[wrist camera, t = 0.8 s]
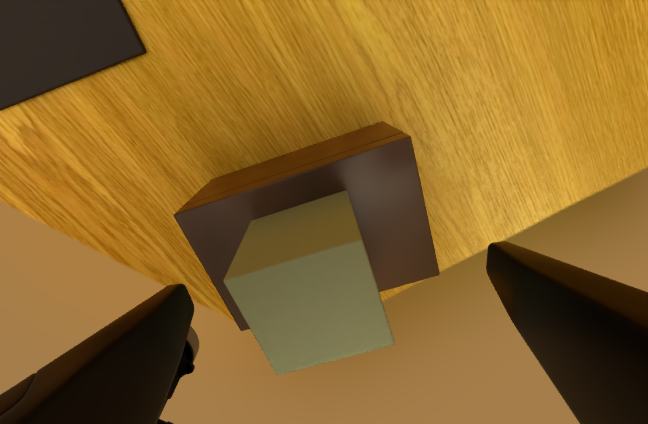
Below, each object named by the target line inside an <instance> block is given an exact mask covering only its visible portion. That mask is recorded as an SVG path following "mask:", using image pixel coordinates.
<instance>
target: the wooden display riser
mask: <svg viewBox="0 0 648 424" xmlns="http://www.w3.org/2000/svg"><path fill="white" fill-rule="evenodd" d="M345 190H346V191H347V192H348V196H349V199H350V202H351V205H352V208H353V211H354V214H355V218H356V221H357V224H358V227H359V230H360V233H361V237H362V240H363V243H364V246H365V249H366V252H367V255H368V259H369V262H370V265H371V268H372V271H373V274H374V278H375V281H376V284H377V287H378V290H379V292H381V291H384V290H388V289H391V288H395V287H399V286H402V285H406V284H409V283H413V282H416V281H420V280H423V279H427V278H430V277H434V276H437V275H439V268H438V264H437V259H436V254H435V249H434V245H433V240H432V235H431V230H430V226H429V221H428V216H427V211H426V207H425V202H424V197H423V192H422V187H421V183H420V178H419V173H418V168H417V164H416V159H415V154H414V149H413V145H412V140H411V137H410V136H409V135H407V134H405V133H403V132H402V131H400V130H398V129H396V128H394V127H392V126H390V125H389V124H387V123H385V122H383V121H382V122H379V123H376V124H373V125H370V126H367V127H365V128H362V129H359V130H356V131H353V132H350V133H347V134H344V135H341V136H338V137H335V138H332V139H329V140H326V141H323V142H320V143H318V144H315V145H312V146H309V147H306V148H303V149H300V150H297V151H294V152H291V153H288V154H285V155H282V156H279V157H276V158H274V159H271V160H268V161H265V162H262V163H259V164H256V165H253V166H250V167H247V168H244V169H241V170H238V171H235V172H232V173H230V174H227V175H224V176H221V177H218V178H215V179H212V180H211V181H210V182H209V183H207V184H206V185H205V186H204V187H203V188H202V189H201V190H200V191H199V192H198V193H197V194H196V195H194V196H193V197H192V198H191V199H190V200H189V201H188V202H187V203H186V204H185V205H184V206H183V207H182V208H181V209H180V210H178V211H177V212H176V213H175V214H174V217H175V219H176V221H177V223H178V224H179V226H180V228H181V229H182V231H183V233H184V235H185V236H186V238H187V240H188V241H189V243H190V245H191V246H192V248H193V250H194V252H195V253H196V255H197V257H198V258H199V260H200V262H201V264H202V265H203V267H204V269H205V270H206V272H207V274H208V275H209V277H210V279H211V281H212V282H213V284H214V286H215V287H216V289H217V291H218V293H219V294H220V296H221V298H222V299H223V301H224V303H225V304H226V306H227V308H228V310H229V311H230V313H231V315H232V316H233V318H234V320H235V321H236V323H237V325H238V326H239V328H240V330H241V331H243V330H247V329H250V327H249V325H248V324H247V322H246V320H245V318H244V317H243V315H242V313H241V311H240V310H239V308H238V306H237V304H236V303H235V301H234V299H233V297H232V296H231V294H230V292H229V290H228V288H227V287H226V285H225V283H224V278H225V276H226V274H227V272H228V270H229V267H230V265H231V263H232V261H233V259H234V257H235V255H236V252H237V250H238V248H239V246H240V244H241V242H242V239H243V237H244V235H245V233H246V231H247V229H248V227H249V224H250V222H251V221H252V220H255V219H258V218H261V217H264V216H267V215H270V214H273V213H277V212H280V211H283V210H286V209H289V208H292V207H295V206H298V205H301V204H305V203H308V202H311V201H314V200H317V199H320V198H323V197H326V196H329V195H333V194H336V193H339V192H342V191H345Z"/></svg>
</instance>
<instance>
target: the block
mask: <svg viewBox="0 0 648 424" xmlns="http://www.w3.org/2000/svg"><path fill="white" fill-rule="evenodd" d="M224 283H225V285H226V287H227V288H228V290H229V292H230V294H231V296H232V297H233V299H234V301H235V303H236V304H237V306H238V308H239V310H240V311H241V313H242V315H243V317H244V318H245V320H246V322H247V324H248V325H249V327H250V329H251V331H252V332H253V334H254V336H255V338H256V340H257V341H258V343H259V345H260V347H261V348H262V350H263V352H264V354H265V355H266V357H267V359H268V361H269V362H270V364H271V366H272V368H273V370H274V371H275V373H276V375H281V374H285V373H289V372H293V371H296V370H300V369H304V368H308V367H312V366H315V365H319V364H323V363H326V362H330V361H334V360H338V359H342V358H346V357H349V356H353V355H357V354H361V353H365V352H368V351H372V350H376V349H380V348H383V347H387V346H390V345H394V344H395V341H394V338H393V335H392V332H391V329H390V326H389V322H388V319H387V316H386V313H385V309H384V307H383V303H382V300H381V297H380V294H379V290H378V287H377V284H376V281H375V278H374V274H373V271H372V268H371V265H370V262H369V259H368V255H367V252H366V249H365V246H364V243H363V240H362V237H361V233H360V230H359V227H358V224H357V221H356V218H355V214H354V211H353V208H352V205H351V202H350V199H349V196H348V192H347V191H346V190H345V191H342V192H339V193H336V194H333V195H329V196H326V197H323V198H320V199H317V200H314V201H311V202H308V203H305V204H301V205H298V206H295V207H292V208H289V209H286V210H283V211H280V212H277V213H273V214H270V215H267V216H264V217H261V218H258V219H255V220H252V221H251V222H250V224H249V227H248V229H247V231H246V233H245V235H244V237H243V239H242V242H241V244H240V246H239V248H238V250H237V252H236V255H235V257H234V259H233V261H232V263H231V265H230V267H229V270H228V272H227V274H226V276H225V278H224Z"/></svg>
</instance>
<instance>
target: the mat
mask: <svg viewBox="0 0 648 424" xmlns="http://www.w3.org/2000/svg"><path fill="white" fill-rule="evenodd" d="M144 53H146V50H145V48H144V46H143V44H142V42H141V40H140V38H139V36H138V34H137V32H136V30H135V28H134V26H133V24H132V22H131V20H130V18H129V16H128V14H127V12H126V10H125V8H124V6H123V4H122V2H121V0H0V110H3V109H5V108H8V107H10V106H13V105H15V104H18V103H20V102H23V101H25V100H28V99H30V98H33V97H35V96H38V95H40V94H43V93H46V92H48V91H51V90H53V89H56V88H58V87H61V86H63V85H66V84H68V83H71V82H73V81H76V80H78V79H81V78H83V77H86V76H89V75H91V74H94V73H96V72H99V71H101V70H104V69H106V68H109V67H111V66H114V65H116V64H119V63H121V62H124V61H126V60H129V59H132V58H134V57H137V56H139V55H142V54H144Z"/></svg>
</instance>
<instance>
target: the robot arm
mask: <svg viewBox="0 0 648 424" xmlns="http://www.w3.org/2000/svg"><path fill="white" fill-rule="evenodd" d="M486 269H487V274H488V276H489V278H490V280H491V282H492V284H493V286H494V287H495V290H496V291H497V294H498V295H499V297H500V299H501V301H502V303H503V305H504V307H505V309H506V311H507V313H508V315H509V316H510V318H511V320H512V322H513V323H514V325H515V326H516V328H517V330H518V331H519V333H520V334H521V336H522V337H523V339H524V340H525V342H526V343H527V345H528V346H529V348H530V349H531V351H532V352H533V354H534V355H535V357H536V358H537V360H538V361H539V363H540V364H541V366H542V367H543V369H544V370H545V372H546V373H547V375H548V376H549V378H550V379H551V381H552V382H553V384H554V385H555V387H556V388H557V389H558V391H559V393H560V394H561V396H562V397H563V399H564V400H565V402H566V403H567V405H568V406H569V408H570V409H571V411H572V412H573V414H574V415H575V417H576V418H577V420H578V421H579V423H580V424H648V292H645V291H642V290H640V289H637V288H634V287H631V286H628V285H626V284H623V283H620V282H617V281H615V280H611V279H609V278H606V277H603V276H600V275H598V274H595V273H592V272H590V271H587V270H584V269H581V268H578V267H576V266H573V265H570V264H567V263H564V262H561V261H559V260H556V259H553V258H551V257H548V256H545V255H542V254H539V253H537V252H534V251H531V250H528V249H526V248H523V247H520V246H517V245H515V244H512V243H509V242H506V241H502V242H495V243H491V244H490V245H489V246H488V254H487V265H486ZM193 313H194V304H193V302H192V300H191V297H190V295H189V293H188V290H187V288H186V286H185V285H184V284H174V285H169V286H167V287H165V288H164V289H162V290H161V291H159V292H158V293H156V294H155V295H153V296H152V297H150V298H149V299H147V300H145V301H144V302H142V303H141V304H139V305H138V306H136V307H135V308H133V309H132V310H130V311H129V312H127V313H126V314H124V315H122V316H121V317H119V318H118V319H116V320H115V321H113V322H112V323H110V324H109V325H107V326H106V327H104V328H103V329H101V330H99V331H98V332H96V333H95V334H93V335H92V336H90V337H89V338H87V339H86V340H84V341H83V342H81V343H80V344H78V345H77V346H75V347H74V348H72V349H70V350H69V351H67V352H66V353H64V354H63V355H61V356H60V357H58V358H57V359H55V360H54V361H52V362H50V363H49V364H47V365H46V366H44V367H43V368H41V369H40V370H38V371H37V373H34V374H32V375H30V376H29V377H27V378H26V379H24V380H23V381H21V382H20V383H18V384H17V385H15V386H14V387H12V388H10V389H9V390H7V391H6V392H4V393H3V394H1V395H0V424H173V423H171V422H165V421H163V420H160V419H159V417H160V415H161V413H162V411H163V408H164V406H165V404H166V402H167V400H168V399H170V398H171V397H172V395H173V393H174V390H175V388H176V386H177V384H178V382H179V379H180V377H181V376H183V375H186V374H190V373H192V372H193V371H194V369H195V366H194V364H193V363H192V361H191V360H190V359H189V357H188V356H187V354H186V353H185V352H184V346H185V343H186V339H187V335H188V332H189V328H190V324H191V320H192V317H193Z"/></svg>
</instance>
